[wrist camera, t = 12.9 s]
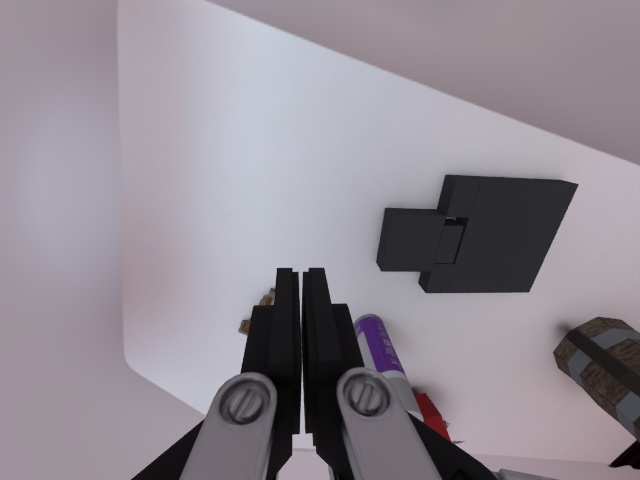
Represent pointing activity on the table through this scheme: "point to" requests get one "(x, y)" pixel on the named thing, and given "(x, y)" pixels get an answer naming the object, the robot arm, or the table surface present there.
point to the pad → (417, 240)
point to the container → (384, 359)
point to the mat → (498, 232)
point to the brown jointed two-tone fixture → (265, 301)
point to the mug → (606, 367)
